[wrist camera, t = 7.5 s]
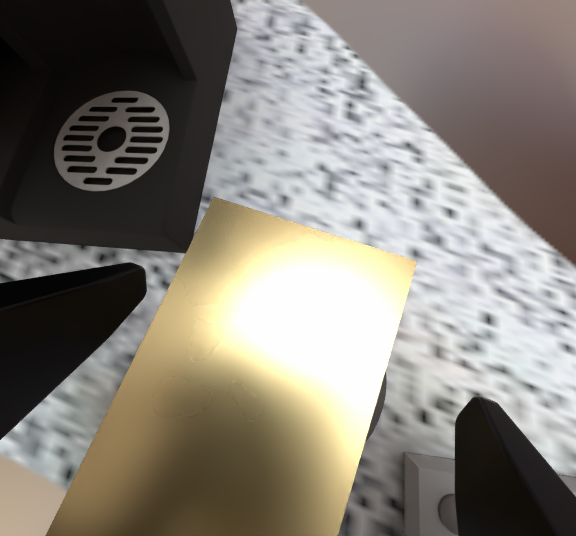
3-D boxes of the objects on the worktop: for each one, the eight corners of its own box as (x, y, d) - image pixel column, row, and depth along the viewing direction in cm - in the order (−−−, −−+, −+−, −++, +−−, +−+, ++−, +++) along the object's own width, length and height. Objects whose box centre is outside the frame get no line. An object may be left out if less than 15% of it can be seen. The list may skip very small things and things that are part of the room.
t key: (305, 450, 14) (266, 777, 3) (237, 418, 14) (14, 599, 4) (346, 327, 15) (417, 261, 4) (283, 303, 16) (213, 197, 5)
